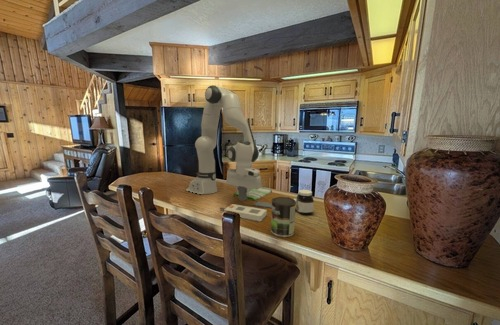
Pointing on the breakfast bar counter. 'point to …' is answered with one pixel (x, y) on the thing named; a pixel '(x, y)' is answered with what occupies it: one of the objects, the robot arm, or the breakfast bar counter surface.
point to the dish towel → (257, 193)
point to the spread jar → (304, 202)
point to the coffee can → (283, 216)
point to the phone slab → (263, 204)
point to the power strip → (247, 212)
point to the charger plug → (242, 193)
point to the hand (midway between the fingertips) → (243, 194)
